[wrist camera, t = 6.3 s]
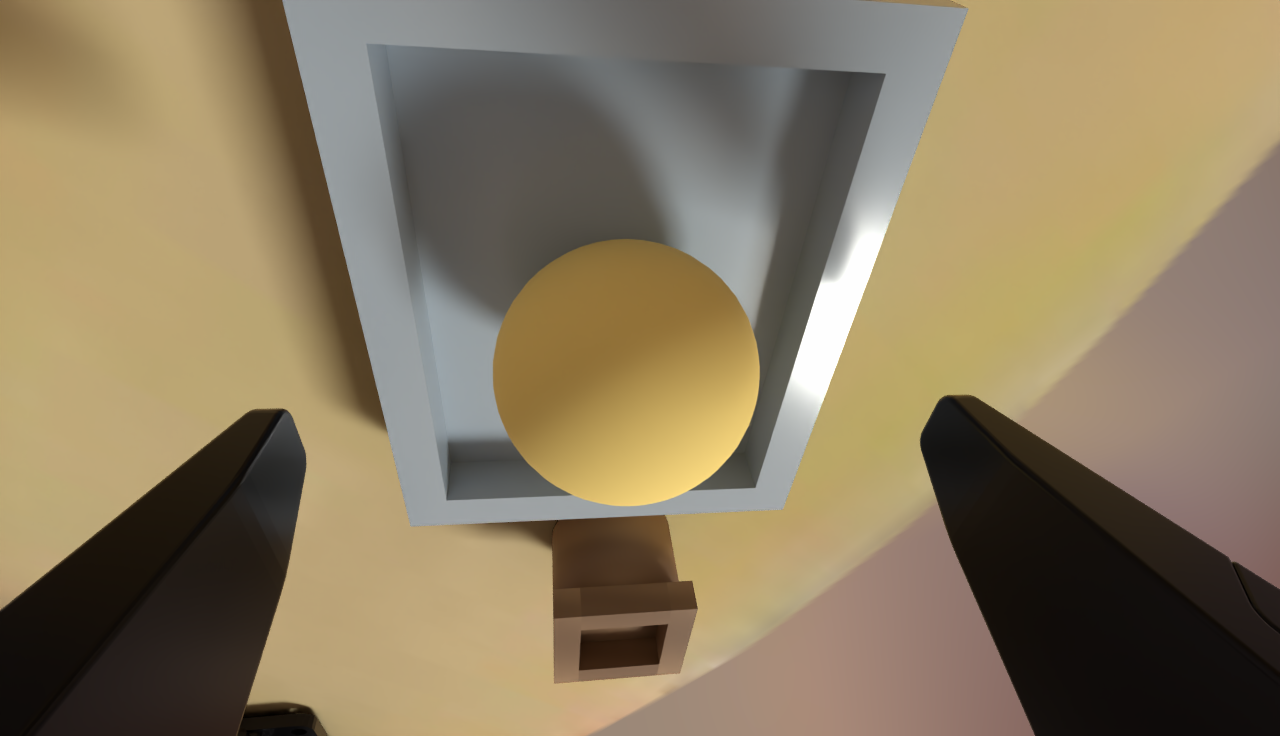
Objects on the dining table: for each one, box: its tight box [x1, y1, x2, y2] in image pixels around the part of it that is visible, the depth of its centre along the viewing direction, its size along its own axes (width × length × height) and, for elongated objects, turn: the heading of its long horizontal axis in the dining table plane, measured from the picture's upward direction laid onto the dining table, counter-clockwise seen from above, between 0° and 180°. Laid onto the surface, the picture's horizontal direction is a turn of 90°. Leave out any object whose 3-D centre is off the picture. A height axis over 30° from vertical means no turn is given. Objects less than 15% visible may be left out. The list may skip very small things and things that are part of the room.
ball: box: [493, 239, 760, 506], centre depth 10 cm, size 4×4×4 cm
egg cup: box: [552, 515, 698, 684], centre depth 16 cm, size 3×3×3 cm
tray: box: [282, 0, 968, 526], centre depth 11 cm, size 10×8×2 cm
